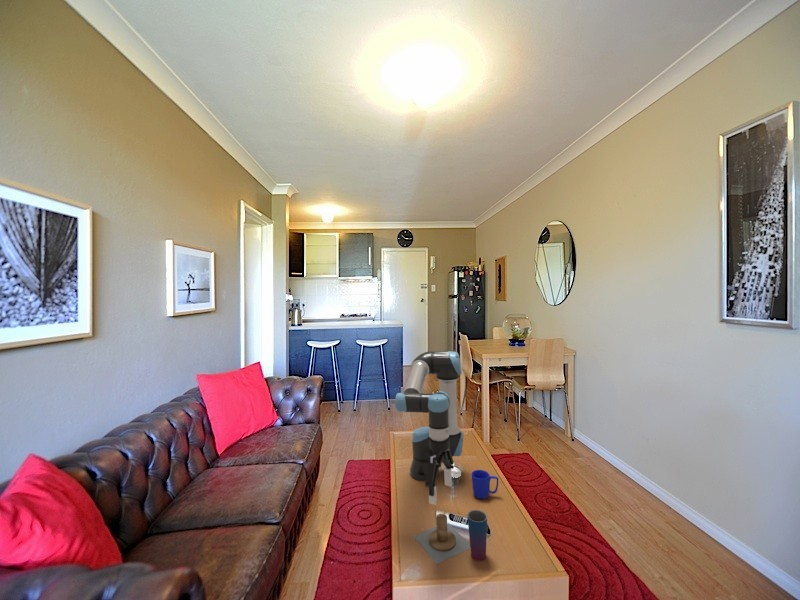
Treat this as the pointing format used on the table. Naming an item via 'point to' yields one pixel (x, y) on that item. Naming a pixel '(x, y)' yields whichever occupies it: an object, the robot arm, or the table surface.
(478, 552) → the cup
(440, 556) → the mat
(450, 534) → the lid
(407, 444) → the table surface
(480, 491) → the mug
